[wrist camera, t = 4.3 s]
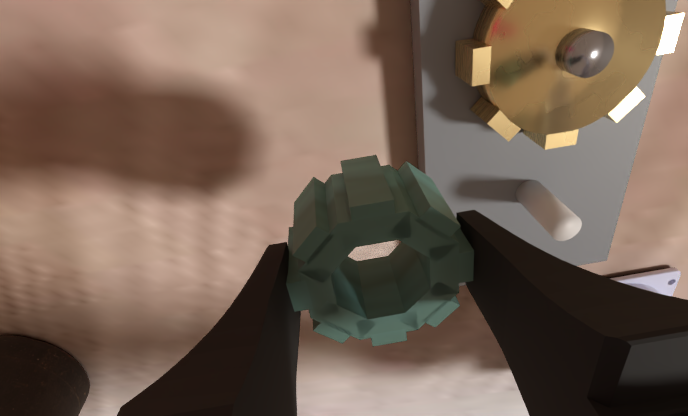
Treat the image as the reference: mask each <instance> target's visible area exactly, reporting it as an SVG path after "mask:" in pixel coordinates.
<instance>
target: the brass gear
mask: <svg viewBox="0 0 688 416" xmlns="http://www.w3.org/2000/svg"><path fill="white" fill-rule="evenodd" d="M480 1H481V2H482V3H483V4H484V5H485V7H484V8H483V10H482V12H481V14H480V17H479V19H478V21H477V24H476V27H475V30H474V33H473V38H470V39H464V40H458V41H455V75H456V76H458V77H459V78H461V79H462V80H463V81H465V82H466V83H468V84H469V85H471V86H476V88H477V90H478V92H479V94H480V95H481V97H480V98H479V99H478V100H477V102H476V103H475V104H474V105H473V106H472V107H471V108H470V110H471V111H473V112H474V113H475V114H476V115H477V116H479V117H480V118H481V119H482V120H483V121H485V122H486V123H487V124H488V125H489V126H491V127H492V128H493V129H494V130H495V131H497V132H498V133H499V134H500V135H501V136H503V137H504V138H505V139H506V140H507V141H510V140H511V139H512V138H513V137H514V136H515V135H516V134H517V133H518V132H519V131H520V129H521V128H522V129H523V134H524V135H526V136H527V137H528V138H530V139H531V140H532V141H534V142H535V143H536V144H538V145H539V146H540V147H542V148H543V149H544V150H547V149H552V148H558V147H564V146H570V145H576V142H577V136H578V131H579V129H580V128H582V127H585V126H587V125H589V124H591V123H593V122H595V121H597V120H598V119H600V118H602V117H605V118H607V119H609V120H612V121H614V122H616V123H617V122H618V121H620V120H621V119H622V118H623V117H624V116H625V115H626V114H627V113H628V112H629V111H630V110H631V109H632V108H634V107H635V106H636V105H637V104H638V103H639V102H640V101H641V100H642V99H643V98H644V97H645V96H644V94H643V93H642V92H641V91H640V90H639V89H638V88H637V87H636V86H637V85H638V83H639V82H640V81H641V79H642V78H643V76H644V75H645V73H646V72H647V70H648V68H649V67H650V65H651V63H652V61H653V59H654V57H655V55H659V54H664V53H670V52H674V48H675V45H676V41H677V38H678V34H679V31H680V27H681V24H682V20H683V17H684V13H680V12H671V11H666V0H480Z"/></svg>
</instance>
